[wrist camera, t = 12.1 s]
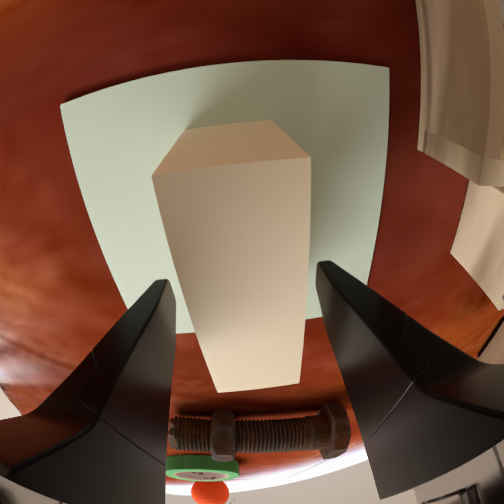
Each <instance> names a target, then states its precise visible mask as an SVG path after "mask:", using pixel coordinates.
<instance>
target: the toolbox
mask: <svg viewBox="0 0 504 504" xmlns="http://www.w3.org/2000/svg"><path fill="white" fill-rule="evenodd" d="M415 2H416V10H417V18H418V28H419V41H420V60H421V102H420V123H419V137H418V148H417V150H419V151H421V152H423V153H425V154H427V155H429V156H431V157H432V158H434V159H436V160H438V161H439V162H441V163H443V164H445V165H446V166H448V167H450V168H451V169H453V170H455V171H456V172H458V173H460V174H461V175H463V176H464V177H466V178H468V179H469V185H468V189H467V194H466V198H465V203H464V207H463V211H462V215H461V219H460V222H459V226H458V229H457V233H456V236H455V240H454V243H453V246H452V249H451V252H450V253H451V254H452V255H453V256H454V257H455V258H456V260H457V261H458V262H459V263H460V264H461V265H462V266H463V267H464V268H465V270H466V271H467V272H468V273H469V274H470V275H471V277H472V278H473V279H474V280H475V281H476V282H477V284H478V285H479V286H480V287H481V288H482V290H483V291H484V292H485V293H486V295H487V296H488V297H489V298H490V300H491V301H492V302H493V304H494V305H495V306H496V308H497V309H498V310H501V309H504V0H415Z"/></svg>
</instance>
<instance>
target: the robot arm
mask: <svg viewBox="0 0 504 504" xmlns="http://www.w3.org/2000/svg"><path fill="white" fill-rule="evenodd" d="M315 284H316V291H317V295H318V299H319V303H320V307H321V311H322V316H323V320H324V324H325V328H326V331H327V334H328V337H329V340H330V343H331V346H332V348H333V351H334V354H335V357H336V360H337V363H338V366H339V368H340V371H341V374H342V377H343V380H344V383H345V386H346V389H347V392H348V395H349V398H350V401H351V404H352V407H353V410H354V413H355V416H356V420H357V423H358V426H359V429H360V432H361V435H362V439H363V442H364V443H365V444H364V446H365V449H366V452H367V456H368V459H369V462H370V466H371V469H372V472H373V476H374V480H375V484H376V487H377V490H378V494H379V498H380V499H385V498H388V497H391V496H394V495H396V494H399V493H402V492H405V491H407V490H410V489H412V488H414V492H415V495H416V499H417V503H418V504H504V364H489V363H484V362H481V361H479V360H476V359H474V358H473V357H471V356H469V355H468V354H466V353H465V352H463V351H461V350H460V349H458V348H456V347H455V346H453V345H452V344H450V343H448V342H447V341H445V340H443V339H442V338H440V337H439V336H437V335H436V334H434V333H433V332H431V331H429V330H428V329H427V328H425V327H424V326H422V325H421V324H420V323H418V322H417V321H415V320H414V319H413V318H411V317H410V316H407V314H406V313H404V312H403V311H402V310H400V309H399V308H398V307H396V306H395V305H393V304H392V303H391V302H389V301H388V300H386V299H385V298H384V297H382V296H381V295H379V294H378V293H377V292H375V291H374V290H372V289H371V288H370V287H368V286H367V285H365V284H364V283H362V282H361V281H360V280H358V279H357V278H355V277H354V276H352V275H351V274H350V273H348V272H347V271H345V270H344V269H342V268H341V267H339V266H338V265H337V264H335V263H334V262H332V261H330V260H326V261H319V262H318V263H317V267H316V281H315ZM503 322H504V318H503V319H502V320H501V321H500V323H499V324H498V326H497V328H496V329H495V331H494V332H493V334H492V335H491V337H490V338H489V340H488V341H487V343H486V344H485V346H484V347H483V349H482V350H481V351H480V353H479V354H478V356H477V357H478V358H479V357H480V356H481V354H482V353H483V352H484V350H485V349H486V347H487V346H488V344H489V343H490V342H491V340H492V339H493V337H494V336H495V334H496V333H497V331H498V330H499V328H500V326H501V325H502V323H503ZM175 348H176V299H175V296H174V293H173V290H172V287H171V284H170V281H169V280H168V279H158V280H155V281H154V282H153V283H152V284H151V285H150V286H149V288H148V289H147V290H146V291H145V292H144V293H143V294H142V295H141V296H140V297H139V298H138V299H137V300H136V301H135V303H134V304H133V305H132V306H131V307H130V308H129V309H128V310H127V311H126V312H125V313H124V315H123V316H122V317H121V318H120V319H119V320H118V321H117V322H116V323H115V325H114V326H113V327H112V328H111V329H110V330H109V331H108V332H107V334H106V335H105V336H104V337H103V338H102V339H101V340H100V341H99V343H98V344H97V345H96V346H95V347H94V348H93V351H91V352H90V353H89V354H88V355H87V356H86V358H85V359H84V360H83V361H82V362H81V363H80V364H79V365H78V367H77V368H76V369H75V370H74V371H73V372H72V373H71V374H70V375H69V376H68V377H67V378H66V379H65V380H64V381H63V382H62V383H61V384H60V385H59V386H58V387H57V388H56V389H55V390H54V391H53V392H52V393H51V394H50V395H49V396H48V397H47V398H46V399H45V401H44V402H43V403H42V404H41V405H40V406H38V407H37V408H36V409H35V410H33V411H32V412H30V413H28V414H25V415H22V416H18V417H13V418H8V419H3V420H0V504H165V482H166V466H165V465H166V453H167V435H168V421H169V408H170V396H171V386H172V376H173V366H174V357H175Z"/></svg>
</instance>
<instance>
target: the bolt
mask: <svg viewBox="0 0 504 504" xmlns="http://www.w3.org/2000/svg"><path fill="white" fill-rule="evenodd" d="M169 427H170V430H169V431H168V439H169V444H170V446H171V447H172V448H173V449H174V448H175V449H176V450H178V449H179V450H182V449H183V450H184V451H185V450H186V449H187V451H189V450H190V449H191V451H193V450H195V451H196V452H197V451H198V450H199V451H200V452H201V451H202V450H203V452H205V451H207V452H209V451H211V458H212V459H213V460H215V461H223V462H229V461H232V460H233V459H234V457H235V453H237V452H239V453H241V452H243V453H245V452H247V453H249V452H251V453H253V452H255V453H257V452H259V453H261V452H263V453H265V452H267V453H269V451H270V452H271V453H272V452H273V451H274V452H275V453H276V452H277V451H278V452H281V451H282V452H285V451H286V452H288V451H296V450H298V451H300V450H317V449H319V451H320V453H321V455H322V457H323V459H330V458H335V457H337V456H340V455H341V454H343V453H345V452H346V450H347V448H348V445H349V442H350V438H351V428H350V422H349V418H348V415H347V412H346V409H345V408H344V407H343V406H342V405H341V404H340V403H338V402H329V403H324V405H323V406H322V408H321V409H320V410H319V412H318V413H317V414H316V415H314V416H306V417H302V418H291V419H283V420H282V419H280V420H278V419H277V420H274V419H273V420H270V419H269V420H268V421H267V420H265V421H263V420H261V421H259V420H257V421H255V420H253V421H251V420H249V421H247V420H245V421H243V420H241V421H239V420H237V421H235V418H234V414H233V413H232V412H231V411H229V410H216V411H214V412H213V413H212V419H210V420H209V421H208V419H206V420H204V419H202V420H200V419H199V418H198V419H196V418H194V420H193V419H192V418H190V419H189V418H188V417H187V418H186V419H185V418H184V417H183V418H181V417H179V418H178V417H177V416H176V417H175V418H172V419H170V421H169Z"/></svg>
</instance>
